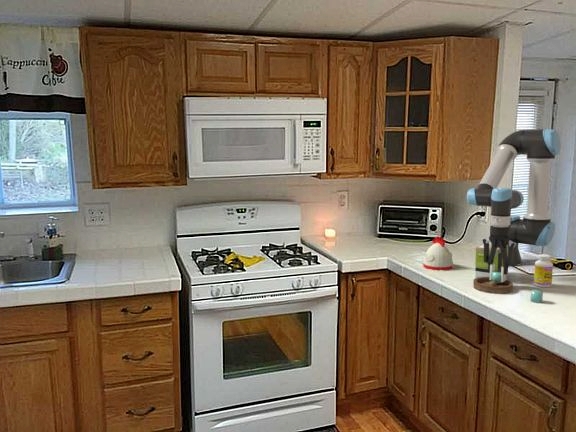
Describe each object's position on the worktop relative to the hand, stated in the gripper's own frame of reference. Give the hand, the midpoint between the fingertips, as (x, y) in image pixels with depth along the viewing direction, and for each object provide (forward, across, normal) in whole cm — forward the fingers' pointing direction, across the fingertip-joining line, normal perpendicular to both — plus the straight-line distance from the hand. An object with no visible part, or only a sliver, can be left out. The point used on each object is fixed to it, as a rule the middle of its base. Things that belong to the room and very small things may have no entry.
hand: (497, 280), depth 204 cm
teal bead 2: (+3, +19, -8) cm, 21 cm away
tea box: (+3, -8, +12) cm, 14 cm away
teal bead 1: (+1, 0, 0) cm, 1 cm away
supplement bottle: (+3, +13, +14) cm, 19 cm away
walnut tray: (+2, 0, -4) cm, 5 cm away
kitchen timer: (+3, -34, +11) cm, 36 cm away
